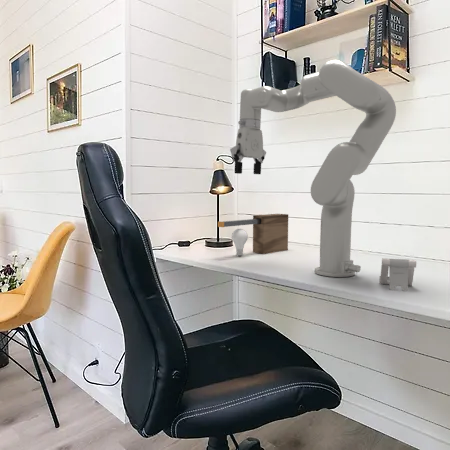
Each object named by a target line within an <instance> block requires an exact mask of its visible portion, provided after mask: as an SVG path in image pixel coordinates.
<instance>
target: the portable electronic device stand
mask: <svg viewBox="0 0 450 450" xmlns="http://www.w3.org/2000/svg"><path fill="white" fill-rule="evenodd" d="M416 268H417V260H416V259H406V258H405V259H403V258H384V257H382V258H381V266H380V276H379V285H389V288H388V289H389V290H390V291H395V290H396V287H401V289H402V292H408V291H409V287H412V286H413V282H414V274H415V269H416Z"/></svg>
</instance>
